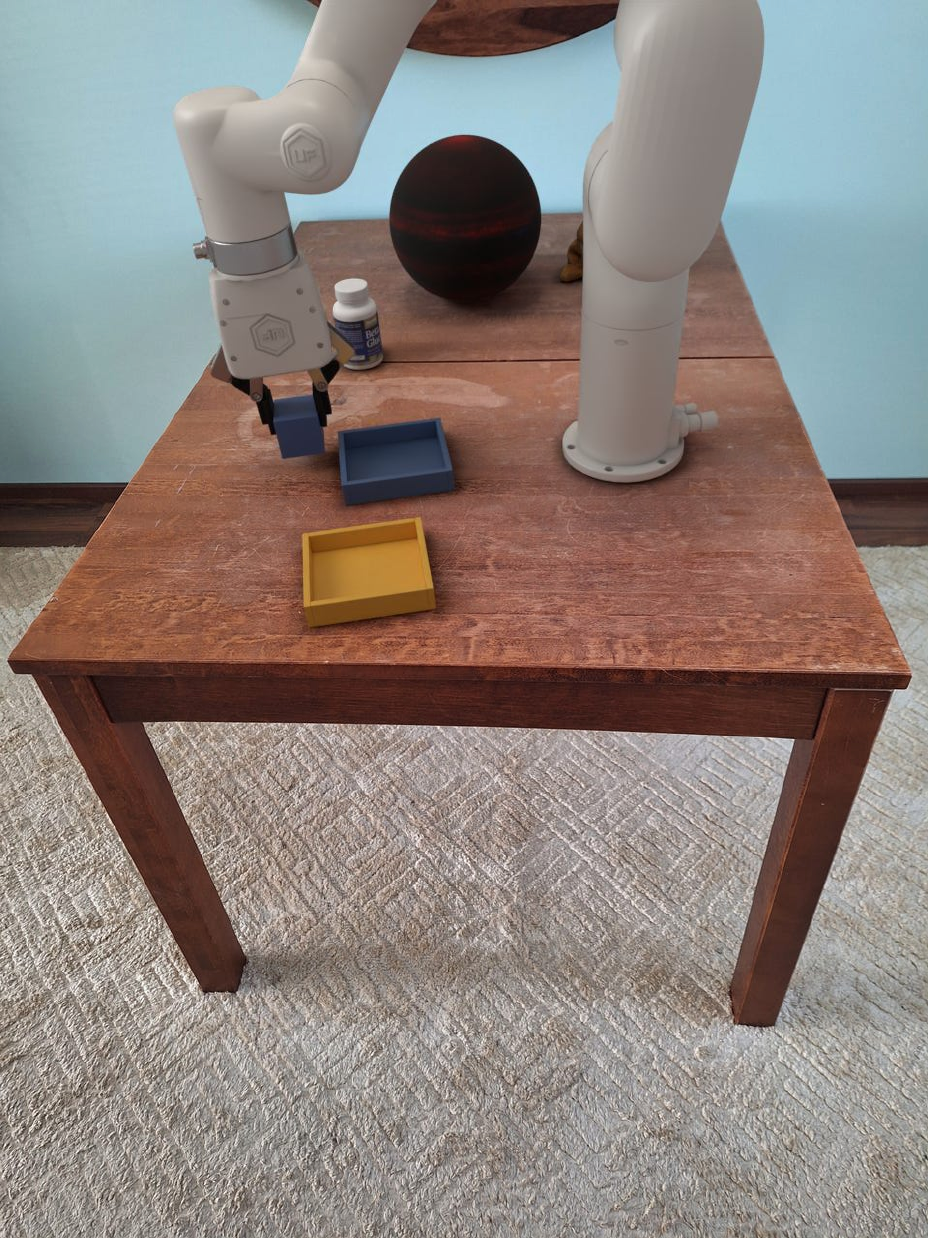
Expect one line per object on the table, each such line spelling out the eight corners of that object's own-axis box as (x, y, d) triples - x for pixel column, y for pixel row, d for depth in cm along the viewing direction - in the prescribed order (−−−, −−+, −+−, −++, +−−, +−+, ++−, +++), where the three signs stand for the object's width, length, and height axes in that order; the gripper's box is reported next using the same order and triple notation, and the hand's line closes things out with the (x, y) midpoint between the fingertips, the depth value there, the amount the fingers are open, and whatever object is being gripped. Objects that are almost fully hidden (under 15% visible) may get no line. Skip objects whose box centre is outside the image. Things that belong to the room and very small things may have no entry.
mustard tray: (423, 537, 83) (420, 516, 81) (436, 608, 76) (433, 588, 74) (307, 553, 83) (302, 533, 81) (309, 627, 75) (303, 607, 74)
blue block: (323, 430, 94) (316, 393, 91) (325, 453, 91) (317, 415, 88) (282, 436, 94) (273, 399, 91) (282, 459, 91) (273, 421, 87)
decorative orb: (383, 326, 116) (361, 165, 102) (415, 265, 130) (400, 115, 116) (532, 329, 112) (530, 163, 98) (548, 266, 126) (549, 112, 112)
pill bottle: (377, 372, 107) (366, 295, 100) (336, 370, 108) (322, 294, 101) (388, 351, 111) (378, 275, 104) (348, 349, 112) (336, 274, 105)
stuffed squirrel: (557, 284, 122) (558, 185, 112) (577, 245, 131) (580, 150, 122) (628, 289, 119) (636, 187, 110) (644, 248, 128) (652, 152, 119)
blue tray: (442, 436, 96) (440, 417, 94) (454, 490, 88) (452, 470, 87) (341, 450, 95) (337, 430, 93) (345, 505, 88) (341, 485, 86)
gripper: (155, 279, 75) (216, 456, 88) (348, 250, 76) (381, 430, 88) (164, 246, 80) (221, 418, 93) (345, 219, 81) (376, 393, 94)
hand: (299, 422), depth 90 cm, fingers closed on blue block, 4 cm apart
